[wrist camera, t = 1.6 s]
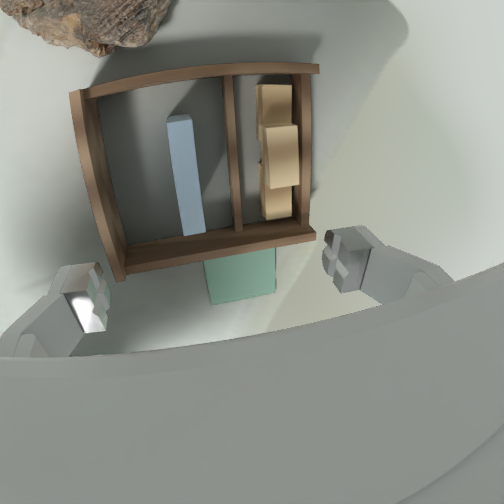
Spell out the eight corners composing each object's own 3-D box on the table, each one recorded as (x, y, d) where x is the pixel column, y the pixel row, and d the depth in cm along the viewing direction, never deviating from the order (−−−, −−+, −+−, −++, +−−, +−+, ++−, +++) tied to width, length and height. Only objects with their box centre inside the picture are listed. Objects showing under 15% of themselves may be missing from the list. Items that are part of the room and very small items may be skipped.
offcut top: (290, 177, 30) (299, 184, 28) (263, 181, 30) (270, 189, 28) (287, 122, 27) (297, 125, 25) (258, 124, 27) (266, 128, 24)
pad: (274, 290, 41) (275, 292, 41) (211, 303, 39) (211, 305, 39) (273, 234, 36) (274, 235, 36) (201, 247, 34) (201, 248, 34)
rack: (300, 222, 36) (319, 244, 32) (122, 254, 32) (116, 282, 28) (299, 66, 26) (324, 63, 21) (86, 91, 22) (68, 92, 17)
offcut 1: (282, 137, 30) (291, 141, 28) (256, 138, 30) (262, 143, 28) (282, 85, 27) (291, 85, 25) (255, 84, 26) (262, 84, 24)
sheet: (198, 203, 32) (205, 232, 26) (180, 206, 31) (183, 236, 26) (187, 113, 26) (192, 119, 20) (168, 116, 26) (166, 123, 20)
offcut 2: (284, 207, 35) (291, 216, 33) (260, 211, 34) (266, 220, 32) (283, 159, 32) (291, 165, 30) (257, 162, 31) (263, 168, 29)
